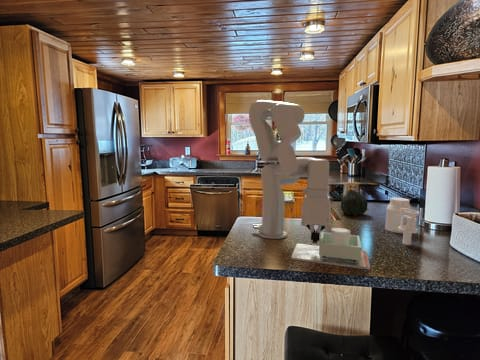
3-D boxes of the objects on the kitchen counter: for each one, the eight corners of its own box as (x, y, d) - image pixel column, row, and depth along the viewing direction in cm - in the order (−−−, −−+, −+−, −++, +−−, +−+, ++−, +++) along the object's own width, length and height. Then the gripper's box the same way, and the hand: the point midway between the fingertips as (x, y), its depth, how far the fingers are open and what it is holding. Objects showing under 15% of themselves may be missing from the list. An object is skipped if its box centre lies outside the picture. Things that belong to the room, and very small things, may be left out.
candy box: (354, 204, 208) (355, 182, 206) (358, 206, 204) (359, 183, 202) (342, 205, 206) (343, 182, 205) (345, 206, 202) (347, 183, 200)
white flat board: (290, 259, 111) (291, 257, 111) (296, 245, 126) (296, 243, 126) (370, 269, 103) (370, 267, 103) (366, 253, 118) (366, 251, 118)
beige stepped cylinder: (393, 241, 134) (396, 206, 132) (409, 241, 134) (412, 206, 132) (403, 246, 127) (406, 210, 125) (420, 246, 127) (423, 210, 125)
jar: (389, 225, 159) (392, 196, 157) (410, 229, 153) (413, 198, 151) (383, 230, 150) (385, 199, 148) (405, 234, 144) (408, 202, 142)
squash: (377, 207, 175) (364, 185, 182) (357, 210, 169) (344, 187, 176) (361, 219, 186) (349, 198, 193) (342, 223, 179) (331, 200, 187)
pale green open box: (318, 258, 109) (319, 242, 108) (320, 246, 122) (321, 232, 121) (360, 263, 105) (361, 247, 104) (358, 250, 118) (359, 235, 117)
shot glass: (339, 253, 109) (340, 233, 108) (325, 246, 115) (326, 228, 114) (353, 250, 112) (355, 231, 111) (339, 244, 118) (340, 226, 117)
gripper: (294, 193, 112) (293, 243, 114) (338, 196, 107) (336, 247, 110) (297, 190, 119) (296, 237, 121) (339, 192, 115) (336, 241, 117)
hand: (315, 242), depth 115 cm, fingers closed
